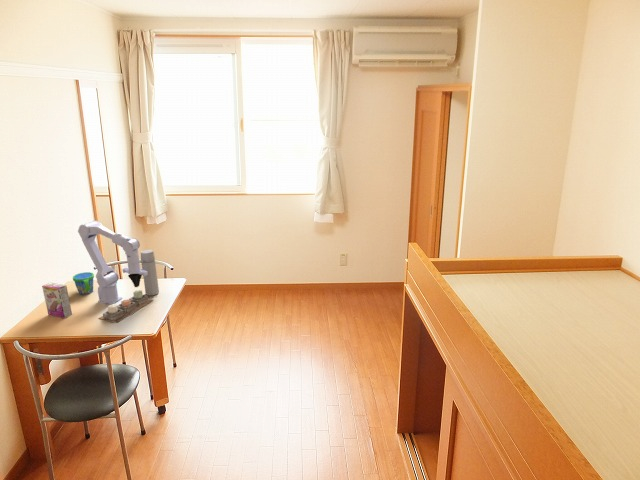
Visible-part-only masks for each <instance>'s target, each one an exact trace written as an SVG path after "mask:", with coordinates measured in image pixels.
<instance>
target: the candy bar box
mask: <svg viewBox="0 0 640 480" xmlns="http://www.w3.org/2000/svg"><path fill="white" fill-rule="evenodd" d="M42 291H43V292H42V293H43V296H44V300H45V305H46V310H47V314H48V316H53V317H56V318H57V317H58V318H62V319H65V318H68V317H70V316H71V315H73V312H72V308H71V301H70V297H69V292H68V287H67V285H66V284H60V283H54V282H48V283H46V284H43V285H42Z"/></svg>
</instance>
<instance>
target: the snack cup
mask: <svg viewBox="0 0 640 480" xmlns="http://www.w3.org/2000/svg"><path fill="white" fill-rule="evenodd" d="M94 277H95V274H94V273H93V272H89V271H88V272H79V273H77V274H75V275H73V276H72V281H74V284H75V287H76V290H77V293H78V294H79V295H88V294H90V293H93V292H94Z"/></svg>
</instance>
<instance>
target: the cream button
mask: <svg viewBox="0 0 640 480" xmlns="http://www.w3.org/2000/svg"><path fill="white" fill-rule="evenodd" d="M117 305H118V304H116V303H113V304H109V305H108V306H107V311H108V313H109V314H111V315H114V314H116V313H118V307H117Z"/></svg>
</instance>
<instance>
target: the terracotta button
mask: <svg viewBox="0 0 640 480" xmlns="http://www.w3.org/2000/svg"><path fill="white" fill-rule="evenodd" d="M120 304H122V306H123V307H128V306H130V305H131V301H130V300H129V298H128V299H122V300H121V303H120Z"/></svg>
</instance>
